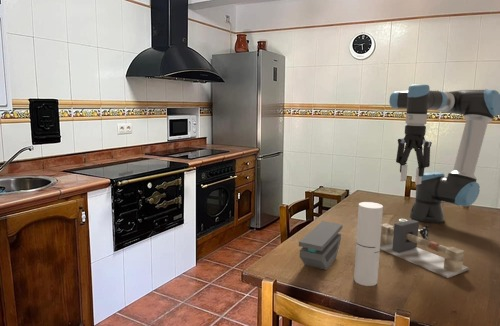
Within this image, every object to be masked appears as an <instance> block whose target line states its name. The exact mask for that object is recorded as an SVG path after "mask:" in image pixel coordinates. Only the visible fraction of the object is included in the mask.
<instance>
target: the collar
mask: <svg viewBox="0 0 500 326" xmlns="http://www.w3.org/2000/svg"><path fill="white" fill-rule="evenodd" d="M393 226H394V235H393V247H392V250H394V251H396V252H399V253H400V252H403V251H406V250H410V249H413V248H418V244H417V243H414V242H412V241H409V240H406V233H409V234H412V235H415V236H418V237H419V232H418V229H419V227H420V221H418V220H415V219H408V220H407V221H404V222H399V221H398V222H396V223H394V225H393Z"/></svg>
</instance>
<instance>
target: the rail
mask: <svg viewBox="0 0 500 326" xmlns="http://www.w3.org/2000/svg"><path fill="white" fill-rule="evenodd" d="M393 235H394V225H391V224H389V223H387V222H385V223H382V226H381V239H380V251H384V252H386V253H389V254H391V255H393V256H395V257H397V258H399V259H403V260H405V261H408V262H410V263H411V264H414V265H416V266H419V267H421V268H423V269H426V270H428V271H430V272H433V273H435V274H438V275H439V276H442V277H444V278H447V279H449V278H452V277H453V276H454V277H455V276H456V275H459V274H462V273H465V272H467V271H469V269H470V267H468V266H466V265H464V264H463V263H464V256H465V250H464V249H460V248H458V247H455V246H447V245H446V246H445V245H443V244H441V243H438V242H435V241H433V240H428V239H427V240H426V239H423V238H424V237H423V238H422V237H420V236H419V235H418V236H415V235H412V234H409V233H406V240H409V241H412V242H414V243H417V245H420V246H423V247H424V248H427V249H430V250H433V251H435V252H439V253H441V254H444V257H443V256H441V255H437V254H435V253H432V252H430V251H427V250H424V249H422V248H420V247H417V248H413V249H410V250H406V251H403V252H400V253H399V252H396V251H394V250H392V247H393Z"/></svg>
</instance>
